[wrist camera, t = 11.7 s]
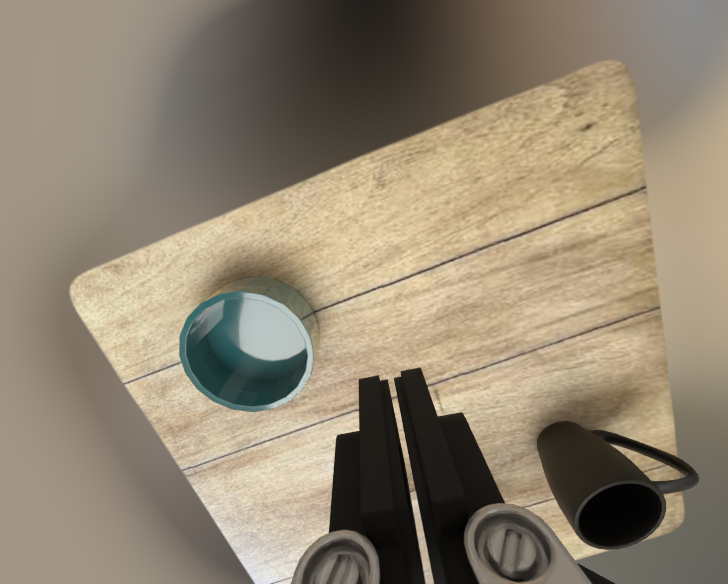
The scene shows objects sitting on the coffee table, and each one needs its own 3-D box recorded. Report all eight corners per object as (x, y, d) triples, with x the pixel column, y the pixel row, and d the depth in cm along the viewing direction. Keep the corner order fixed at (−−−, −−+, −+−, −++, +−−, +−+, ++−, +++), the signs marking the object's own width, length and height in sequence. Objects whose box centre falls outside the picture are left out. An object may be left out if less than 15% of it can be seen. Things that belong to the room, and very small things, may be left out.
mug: (635, 446, 41) (715, 522, 32) (534, 478, 42) (584, 561, 33) (623, 389, 38) (706, 453, 29) (517, 425, 39) (565, 498, 30)
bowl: (205, 267, 33) (180, 281, 29) (326, 286, 34) (321, 303, 29) (201, 373, 37) (178, 402, 32) (311, 389, 38) (304, 419, 33)
